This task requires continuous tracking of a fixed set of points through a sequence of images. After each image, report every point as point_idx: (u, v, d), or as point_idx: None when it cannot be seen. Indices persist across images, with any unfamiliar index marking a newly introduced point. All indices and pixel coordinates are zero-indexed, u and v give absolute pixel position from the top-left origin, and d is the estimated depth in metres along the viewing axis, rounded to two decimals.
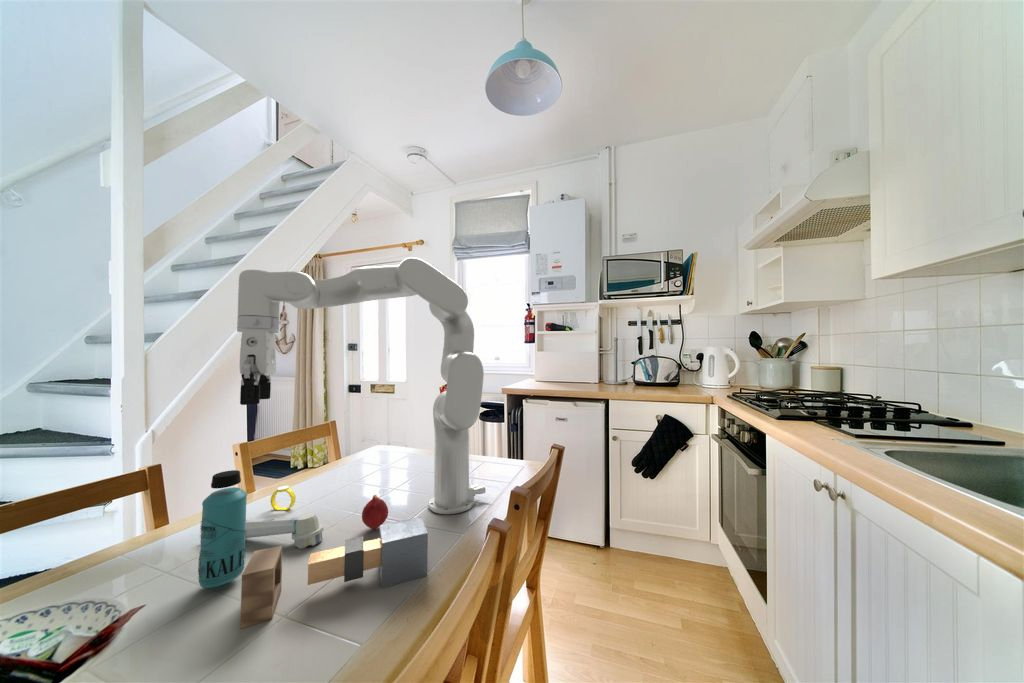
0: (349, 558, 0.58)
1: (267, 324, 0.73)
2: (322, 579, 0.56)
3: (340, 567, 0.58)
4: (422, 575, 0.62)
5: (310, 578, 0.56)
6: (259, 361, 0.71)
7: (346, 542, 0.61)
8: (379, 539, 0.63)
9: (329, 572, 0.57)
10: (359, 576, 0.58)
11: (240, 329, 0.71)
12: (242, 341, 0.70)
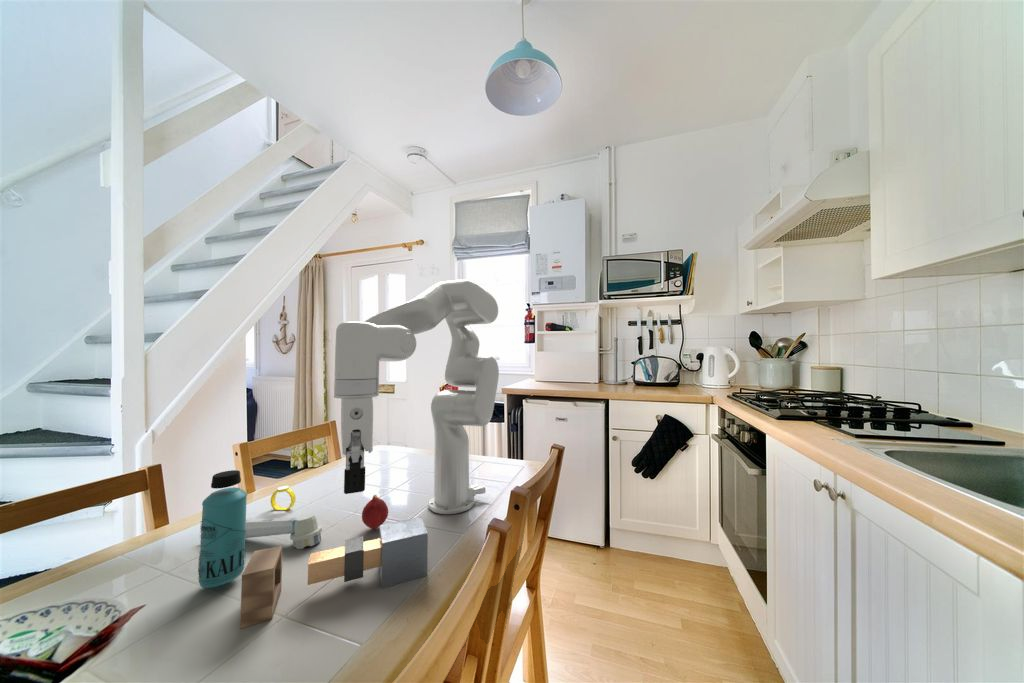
0: (349, 558, 0.58)
1: (370, 388, 0.60)
2: (322, 579, 0.56)
3: (340, 567, 0.58)
4: (422, 575, 0.62)
5: (310, 578, 0.56)
6: (365, 437, 0.57)
7: (346, 542, 0.61)
8: (379, 539, 0.63)
9: (329, 572, 0.57)
10: (359, 576, 0.58)
11: (340, 396, 0.58)
12: (345, 413, 0.57)
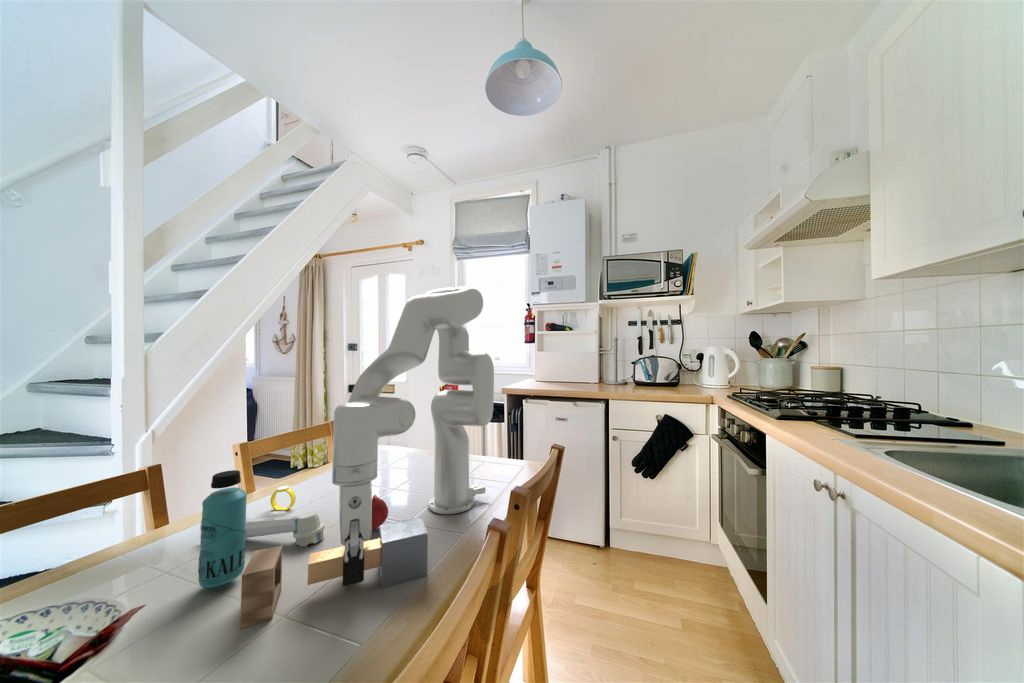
0: None
1: (369, 473, 0.59)
2: (322, 579, 0.56)
3: (340, 567, 0.58)
4: (422, 575, 0.62)
5: (310, 578, 0.56)
6: (363, 526, 0.56)
7: None
8: (379, 539, 0.63)
9: (329, 572, 0.57)
10: None
11: (338, 484, 0.57)
12: (343, 502, 0.56)
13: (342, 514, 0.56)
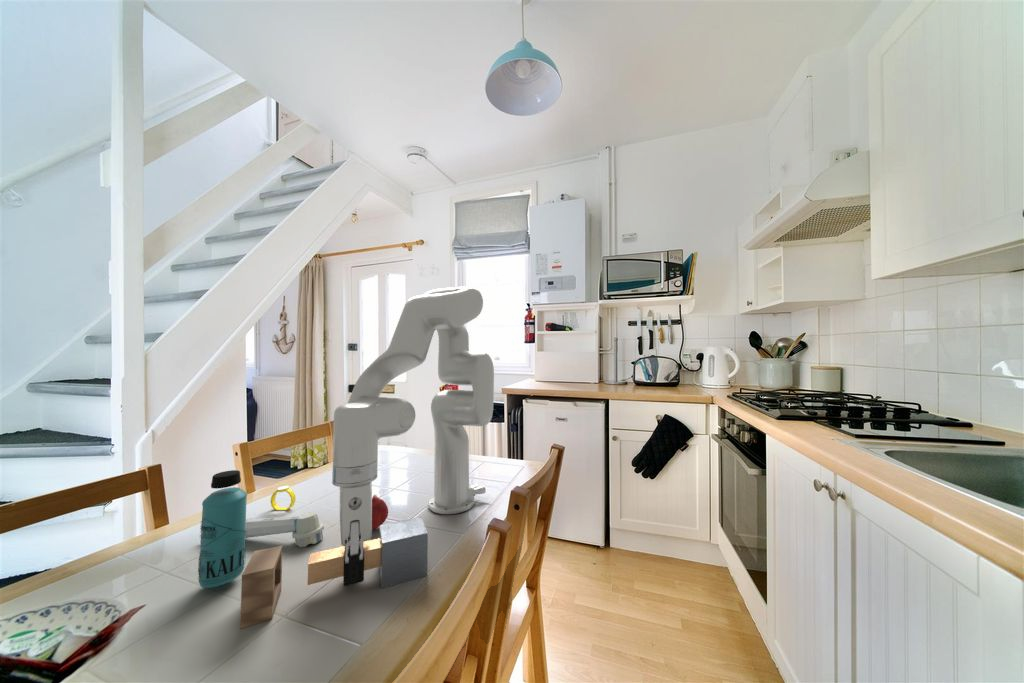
0: None
1: (369, 474, 0.59)
2: (322, 579, 0.56)
3: (340, 567, 0.58)
4: (422, 575, 0.62)
5: (310, 578, 0.56)
6: (364, 527, 0.56)
7: None
8: (379, 539, 0.63)
9: (329, 572, 0.57)
10: None
11: (338, 485, 0.57)
12: (343, 503, 0.56)
13: (342, 515, 0.56)
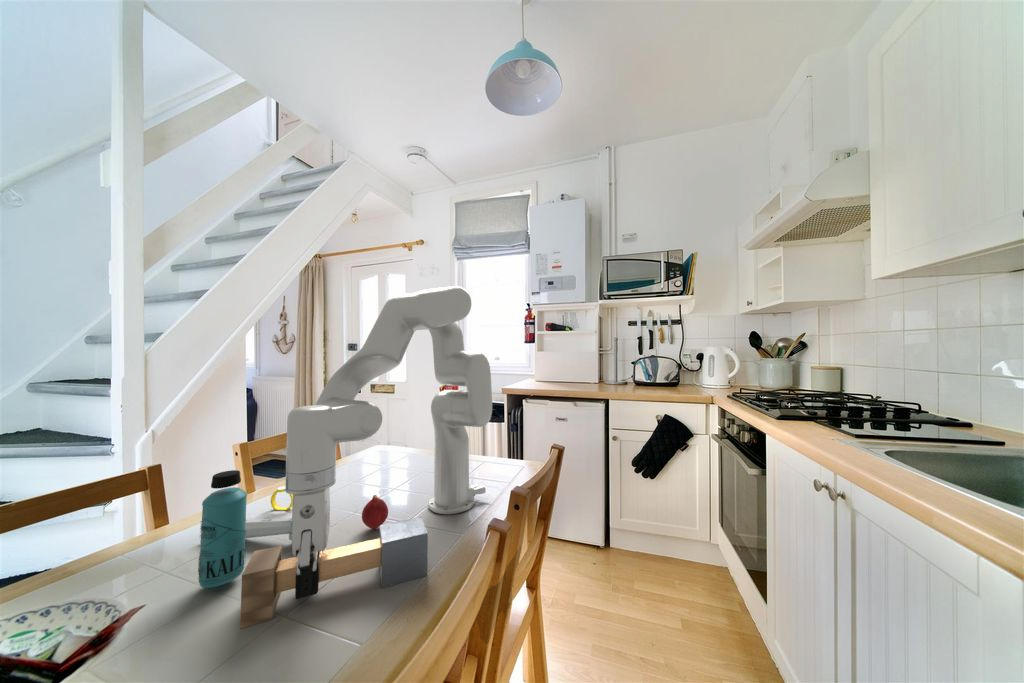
0: None
1: (324, 480, 0.56)
2: None
3: (293, 579, 0.55)
4: (422, 575, 0.62)
5: None
6: (317, 537, 0.53)
7: None
8: (338, 548, 0.60)
9: (281, 584, 0.54)
10: None
11: (291, 492, 0.54)
12: (295, 512, 0.53)
13: (293, 524, 0.53)
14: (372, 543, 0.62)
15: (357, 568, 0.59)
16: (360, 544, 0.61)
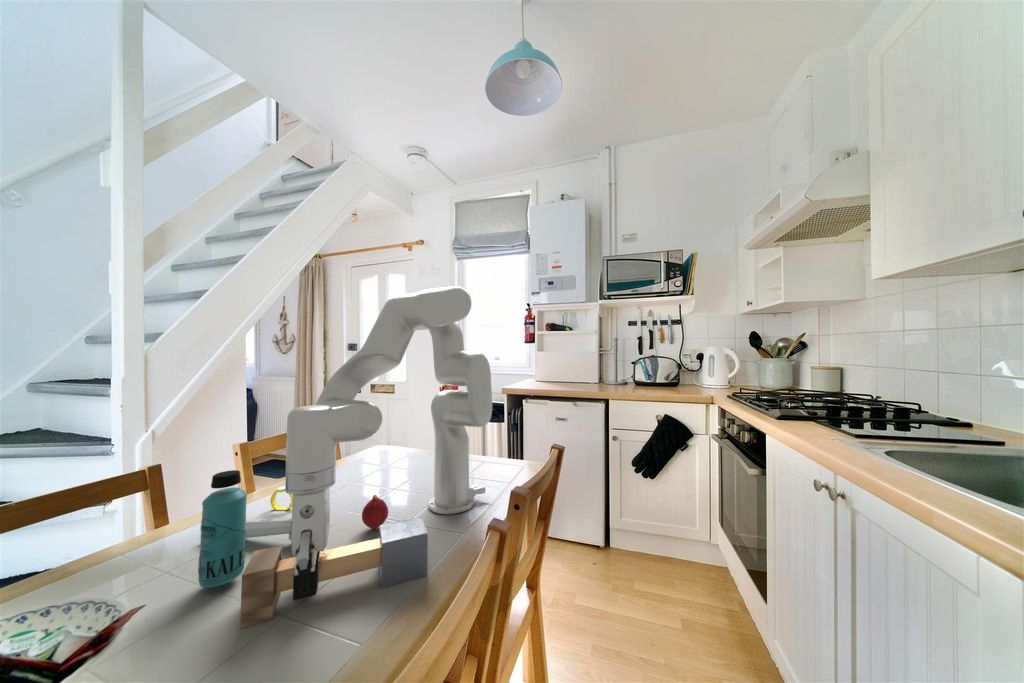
0: None
1: (324, 480, 0.56)
2: None
3: None
4: (422, 575, 0.62)
5: None
6: (316, 537, 0.53)
7: None
8: (338, 548, 0.60)
9: (281, 584, 0.54)
10: None
11: (290, 492, 0.54)
12: (294, 512, 0.53)
13: (293, 524, 0.53)
14: (372, 543, 0.62)
15: (357, 568, 0.59)
16: (360, 544, 0.61)
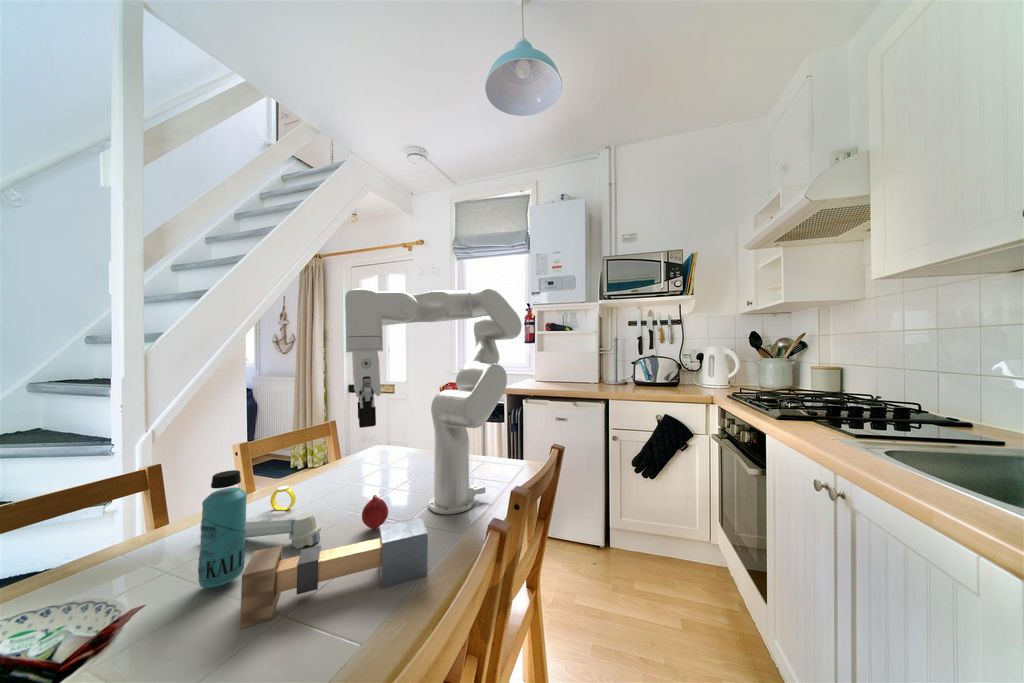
0: (302, 569, 0.55)
1: (376, 344, 0.72)
2: None
3: (293, 579, 0.55)
4: (422, 575, 0.62)
5: None
6: (374, 383, 0.70)
7: (302, 552, 0.58)
8: (338, 548, 0.60)
9: (281, 584, 0.54)
10: (313, 588, 0.55)
11: (352, 350, 0.70)
12: (357, 363, 0.69)
13: (356, 372, 0.69)
14: (372, 543, 0.62)
15: (357, 568, 0.59)
16: (360, 544, 0.61)
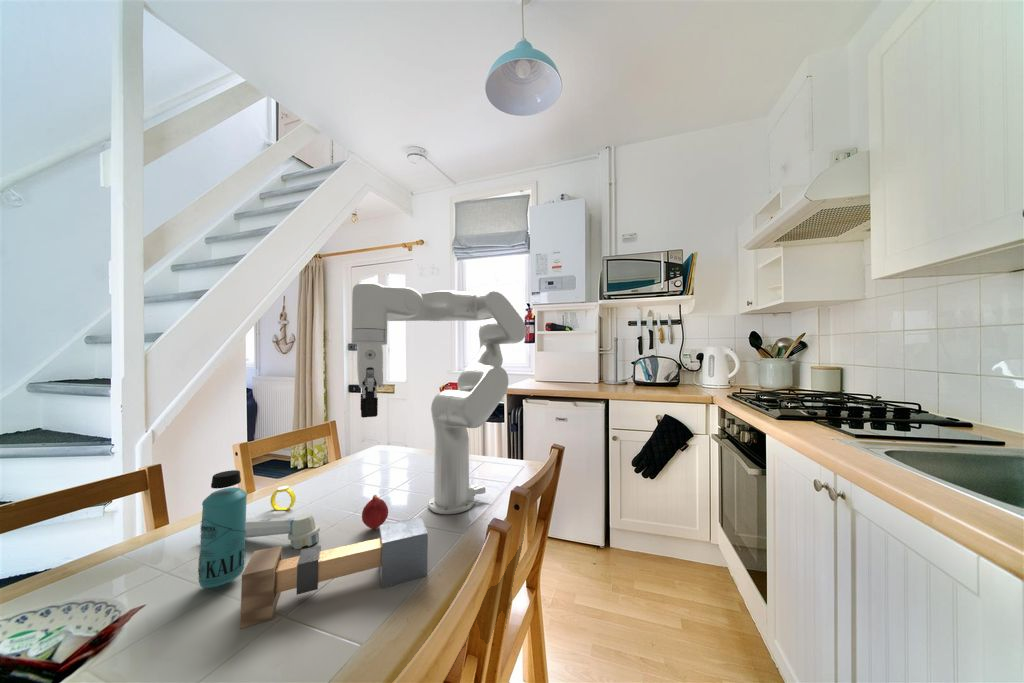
0: (302, 569, 0.55)
1: (381, 337, 0.74)
2: None
3: (293, 579, 0.55)
4: (422, 575, 0.62)
5: None
6: (377, 374, 0.71)
7: (302, 552, 0.58)
8: (338, 548, 0.60)
9: (281, 584, 0.54)
10: (313, 588, 0.55)
11: (357, 342, 0.72)
12: (361, 354, 0.71)
13: (360, 363, 0.70)
14: (372, 543, 0.62)
15: (357, 568, 0.59)
16: (360, 544, 0.61)
